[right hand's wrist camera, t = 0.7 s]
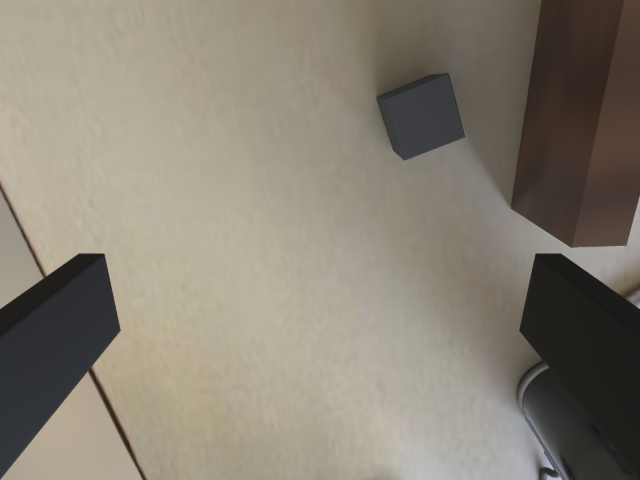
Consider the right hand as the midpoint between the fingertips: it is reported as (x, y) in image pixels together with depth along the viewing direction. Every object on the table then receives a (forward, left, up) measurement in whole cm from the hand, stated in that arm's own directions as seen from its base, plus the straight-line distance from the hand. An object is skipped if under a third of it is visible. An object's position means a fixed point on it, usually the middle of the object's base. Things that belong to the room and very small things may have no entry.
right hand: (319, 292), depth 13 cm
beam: (-6, +20, -26) cm, 34 cm away
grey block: (-3, +8, -26) cm, 28 cm away
